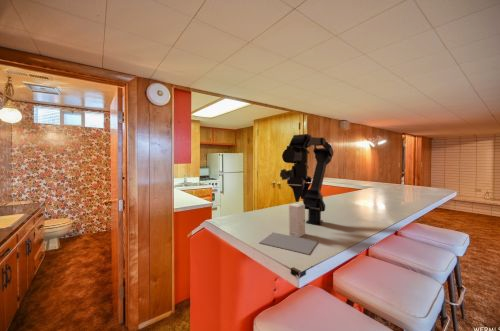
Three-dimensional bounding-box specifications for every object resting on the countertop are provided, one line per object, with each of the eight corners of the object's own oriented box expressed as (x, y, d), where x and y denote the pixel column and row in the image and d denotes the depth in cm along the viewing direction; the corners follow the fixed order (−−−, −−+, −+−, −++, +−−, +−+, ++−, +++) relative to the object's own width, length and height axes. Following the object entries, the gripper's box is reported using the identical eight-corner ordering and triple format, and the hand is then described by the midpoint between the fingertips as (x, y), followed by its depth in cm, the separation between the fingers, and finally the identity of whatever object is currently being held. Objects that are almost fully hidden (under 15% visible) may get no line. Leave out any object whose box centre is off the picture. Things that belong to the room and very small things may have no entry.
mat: (273, 233, 85) (273, 232, 85) (318, 241, 75) (318, 241, 75) (259, 243, 74) (259, 242, 74) (309, 254, 65) (309, 254, 65)
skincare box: (298, 238, 79) (298, 206, 79) (288, 235, 82) (288, 205, 82) (305, 233, 84) (305, 204, 84) (295, 231, 87) (295, 202, 87)
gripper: (288, 163, 100) (287, 196, 100) (275, 162, 83) (274, 201, 83) (312, 164, 95) (311, 198, 95) (302, 163, 78) (301, 204, 78)
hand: (299, 200), depth 88 cm, fingers open, 9 cm apart
